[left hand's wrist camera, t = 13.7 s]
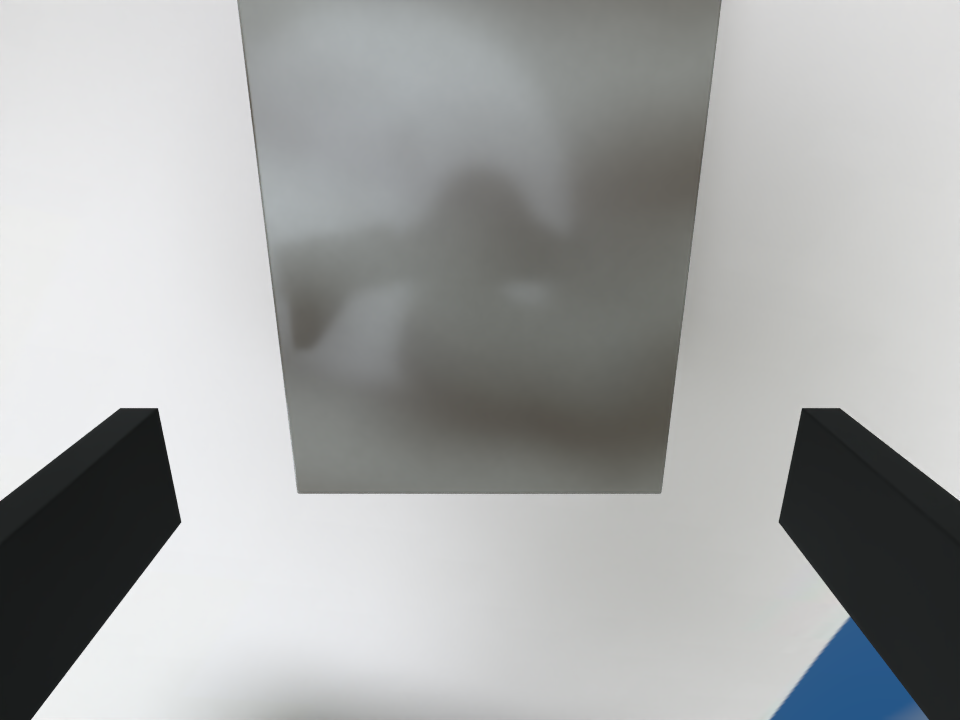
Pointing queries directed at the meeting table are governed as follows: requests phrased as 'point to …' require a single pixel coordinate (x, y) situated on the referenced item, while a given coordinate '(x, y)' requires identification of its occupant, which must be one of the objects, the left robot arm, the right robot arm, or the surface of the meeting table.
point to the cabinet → (479, 235)
